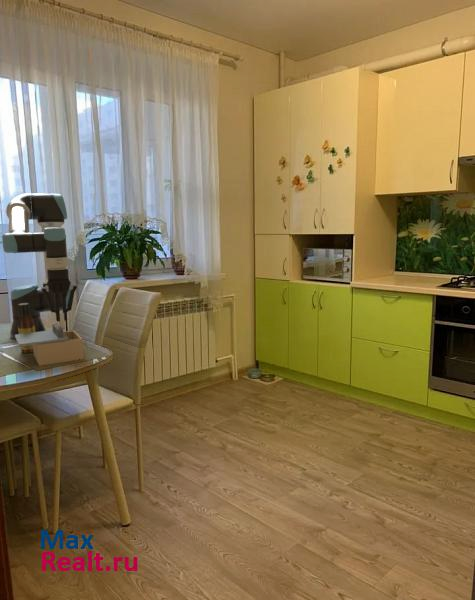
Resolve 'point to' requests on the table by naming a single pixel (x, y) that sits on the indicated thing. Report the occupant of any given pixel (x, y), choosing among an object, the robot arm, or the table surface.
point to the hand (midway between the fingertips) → (62, 329)
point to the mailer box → (60, 350)
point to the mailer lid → (41, 336)
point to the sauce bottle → (25, 325)
